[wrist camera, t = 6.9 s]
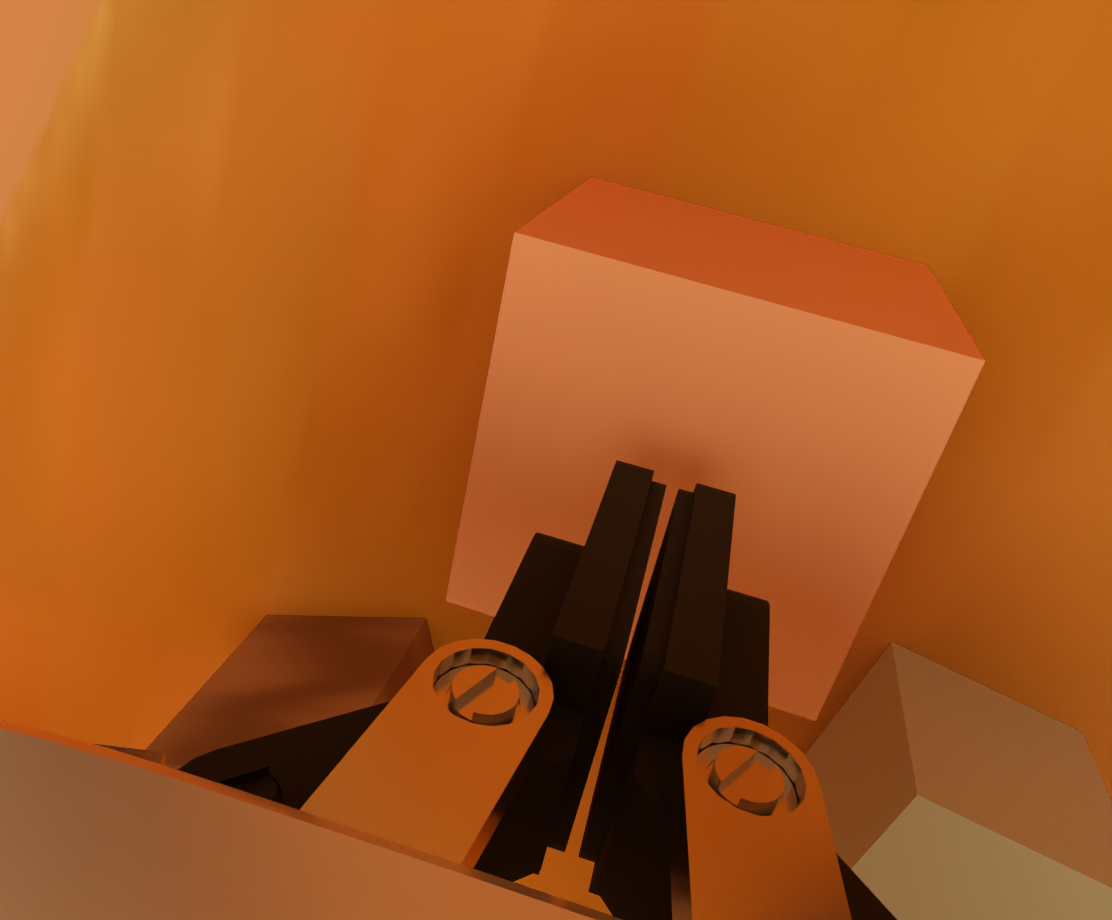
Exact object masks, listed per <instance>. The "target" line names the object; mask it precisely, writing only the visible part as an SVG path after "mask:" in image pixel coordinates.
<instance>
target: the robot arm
mask: <svg viewBox="0 0 1112 920" xmlns="http://www.w3.org/2000/svg"><path fill="white" fill-rule="evenodd" d="M653 474H654V471H653V470H650V469H646V468H643V467H639V466H636V465H632V464H629V463H626V462H622V461H619V460H616V463H615V465H614V468H613V471H612V474H611V476H610V479H609V482H608V484H607V487H606V490H605V492H604V495H603V498H602V500H601V503H600V506H599V508H598V511H597V514H596V517H595V519H594V522H593V525H592V527H591V530H590V533H589V535H588V538H587V541H586V543H585V546H582V545H579V544H576V543H572V542H569V541H565V540H562V539H559V538H555V537H552V536H549V535H545V534H542V533H539V532H537V533H535V535H534V537H533V538H532V540H531V542H530V544H529V547H528V549H527V551H526V553H525V555H524V557H523V559H522V561H521V563H520V565H519V567H518V570H517V572H516V574H515V576H514V578H513V580H512V582H511V584H510V586H509V588H508V591H507V593H506V595H505V597H504V599H503V601H502V603H501V605H500V607H499V609H498V611H497V614H496V616H495V618H494V620H493V622H492V624H491V626H490V628H489V630H488V632H487V634H486V637H485V639H467V640H460V641H455V642H452V643H450V644H447V645H445V646H442V647H440V648H438V649H437V650H436V651H435V652H433V653H432V654H431V655H430V656H429V657H427V658H426V659H425V661H424V662H423V663H422V664H421V665H420V667H419V668H418V669H417V670H416V671H415V673H414V674H413V675H412V676H411V677H410V678H409V680H408V681H407V682H406V683H405V684H404V686H403V687H402V688H401V689H400V690H399V692H398V693H397V694H396V695H395V696H394V698H393V699H392V700H391V701H388V702H385V703H381V704H378V705H374V706H370V707H367V708H363V709H360V710H356V711H352V712H349V713H345V714H342V715H338V716H334V717H331V718H327V719H324V720H320V721H316V722H313V723H309V724H306V725H302V726H298V727H295V728H291V729H288V730H284V731H281V732H277V733H273V734H270V735H266V736H263V737H259V738H255V739H252V740H248V741H245V742H241V743H237V744H234V745H230V746H227V747H223V748H219V749H216V750H213V751H211V752H209V753H206V754H204V755H201V756H199V757H196V758H194V759H192V760H191V761H189V762H188V763H187V764H185V765H184V766H178V765H169V764H165V752H158V751H150V750H142V749H134V748H126V747H118V746H110V745H101V744H93V743H89V742H85V741H82V740H78V739H75V738H71V737H68V736H64V735H61V734H57V733H54V732H50V731H47V730H43V729H40V728H36V727H32V726H27V725H22V724H17V723H12V722H7V721H2V720H0V920H897V919H896V918H895V917H894V916H893V915H892V913H891V912H890V911H889V910H888V909H887V908H886V907H885V906H884V905H883V904H882V902H881V901H880V900H879V899H878V898H877V897H876V896H875V895H874V894H873V893H872V891H871V890H870V889H869V888H868V887H867V886H866V885H865V884H864V883H863V882H862V881H861V879H860V878H859V877H858V876H857V875H856V874H855V873H854V872H853V871H852V870H851V868H850V867H849V866H848V865H847V864H846V863H845V862H844V861H843V860H842V859H841V858H840V856H839V855H838V854H837V853H836V850H835V846H834V842H833V837H832V833H831V829H830V824H829V820H828V816H827V812H826V807H825V803H824V799H823V794H822V790H821V786H820V782H819V780H818V777H817V775H816V773H815V770H814V768H813V766H812V764H811V763H810V762H809V760H808V759H807V758H806V756H805V755H804V754H803V753H802V751H801V750H800V749H799V748H798V747H797V746H795V745H794V744H793V743H792V742H791V741H790V740H788V739H787V738H786V737H785V736H784V735H782V734H780V733H778V732H777V731H775V730H773V729H771V728H769V727H768V690H769V637H770V604H769V602H768V601H767V600H763V599H760V598H757V597H753V596H750V595H747V594H743V593H740V592H737V591H733V590H730V589H727V585H728V575H729V564H730V554H731V543H732V533H733V522H734V511H735V501H736V494H734V493H730V492H727V491H723V490H720V489H716V488H713V487H709V486H706V485H702V484H699V483H697V484H696V486H695V488H694V491H693V492H689V491H686V490H682V489H679V490H678V492H677V495H676V498H675V502H674V505H673V508H672V511H671V514H670V518H669V521H668V524H667V527H666V531H665V534H664V537H663V540H662V544H661V547H660V550H659V553H658V556H657V560H656V563H655V566H654V569H653V573H652V576H651V579H650V582H649V586H648V589H647V592H646V595H645V598H644V602H643V605H642V608H641V611H640V615H639V618H638V621H637V624H636V627H635V631H634V634H633V637H632V641H631V644H630V647H629V651H628V654H627V658H626V662H625V666H624V670H623V674H622V678H621V683H620V687H619V691H618V695H617V699H616V703H615V707H614V711H613V716H612V720H611V724H610V728H609V732H608V736H607V740H606V745H605V749H604V753H603V757H602V761H601V765H600V769H599V774H598V778H597V782H596V786H595V790H594V794H593V798H592V802H591V807H590V811H589V815H588V819H587V823H586V827H585V831H584V836H583V840H582V844H581V848H580V852H579V857H581V858H584V859H587V860H590V861H593V862H595V865H594V870H593V874H592V879H591V883H590V888H589V892H591V893H593V894H596V895H599V896H600V897H601V898H602V900H603V901H604V903H605V904H606V906H607V907H608V909H609V910H610V912H611V913H612V915H613V916H611V915H608V914H605V913H602V912H599V911H596V910H593V909H590V908H587V907H584V906H582V905H579V904H576V903H573V902H570V901H567V900H564V899H561V898H558V897H555V896H552V895H549V894H546V893H543V892H541V891H538V890H535V889H532V888H529V887H526V886H523V885H520V884H517V883H514V881H516V880H519V879H521V878H523V877H526V876H528V875H530V874H532V873H535V874H538V875H539V871H540V870H541V866H542V863H543V859H544V856H545V852H546V849H547V846H548V847H551V848H554V849H557V850H560V851H563V852H565V849H566V846H567V843H568V839H569V836H570V833H571V830H572V827H573V823H574V820H575V817H576V814H577V810H578V807H579V804H580V801H581V797H582V794H583V791H584V788H585V784H586V781H587V778H588V775H589V771H590V768H591V765H592V762H593V758H594V755H595V752H596V749H597V746H598V742H599V739H600V736H601V733H602V729H603V726H604V723H605V720H606V716H607V713H608V710H609V707H610V703H611V700H612V697H613V694H614V690H615V687H616V684H617V681H618V677H619V674H620V670H621V667H622V663H623V660H624V656H625V653H626V649H627V645H628V641H629V637H630V633H631V629H632V625H633V621H634V617H635V613H636V609H637V605H638V600H639V596H640V592H641V588H642V584H643V580H644V576H645V572H646V568H647V564H648V560H649V556H650V551H651V547H652V543H653V539H654V535H655V531H656V527H657V523H658V519H659V515H660V511H661V507H662V502H663V498H664V494H665V490H666V486H667V485H665V484H661V483H658V482H654V481H652V478H653Z"/></svg>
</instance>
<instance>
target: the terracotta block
mask: <svg viewBox="0 0 1112 920" xmlns="http://www.w3.org/2000/svg"><path fill="white" fill-rule="evenodd" d="M984 363H985V359H984V358H983V356H982V354H981V353H980V351H979V349H978V348H977V346H976V344H975V343H974V341H973V339H972V338H971V336H970V334H969V333H968V331H967V329H966V328H965V326H964V325H963V323H962V321H961V320H960V318H959V316H958V315H957V313H956V311H955V310H954V308H953V306H952V305H951V303H950V301H949V300H948V298H947V296H946V295H945V293H944V291H943V290H942V288H941V286H940V285H939V283H938V281H937V280H936V278H935V276H934V275H933V273H932V271H931V270H930V268H929V266H928V265H924V264H920V263H917V262H913V261H909V260H905V259H901V258H898V257H894V256H890V255H886V254H882V253H879V252H875V251H871V250H867V249H863V248H860V247H856V246H852V245H848V244H844V243H841V242H837V241H833V240H829V239H825V238H822V237H818V236H814V235H810V234H806V233H803V232H799V231H795V230H791V229H787V228H783V227H780V226H776V225H772V224H768V223H764V222H761V221H757V220H753V219H749V218H745V217H742V216H738V215H734V214H730V213H726V212H723V211H719V210H715V209H711V208H707V207H704V206H700V205H696V204H692V203H688V202H685V201H681V200H677V199H673V198H669V197H666V196H662V195H658V194H654V193H650V192H647V191H643V190H639V189H635V188H631V187H628V186H624V185H620V184H616V183H612V182H609V181H605V180H601V179H597V178H593V177H590V178H589V179H588V180H586V181H585V182H583V183H582V184H581V185H579V186H578V187H577V188H575V189H574V190H572V191H571V192H570V193H568V194H567V195H565V196H564V197H563V198H561V199H560V200H558V201H557V202H556V203H554V204H553V205H551V206H550V207H549V208H547V209H546V210H544V211H543V212H542V213H540V214H539V215H538V216H536V217H535V218H533V219H532V220H531V221H529V222H528V223H526V224H525V225H524V226H522V227H521V228H519V229H518V230H517V231H515V232H514V236H513V242H512V247H511V252H510V258H509V263H508V269H507V274H506V279H505V285H504V290H503V295H502V301H501V306H500V311H499V317H498V322H497V327H496V333H495V338H494V343H493V349H492V354H491V359H490V365H489V370H488V375H487V381H486V386H485V392H484V397H483V402H482V408H481V413H480V418H479V424H478V429H477V434H476V440H475V445H474V450H473V456H472V461H471V466H470V472H469V477H468V482H467V488H466V493H465V498H464V504H463V509H462V515H461V520H460V525H459V531H458V536H457V541H456V547H455V552H454V557H453V563H452V568H451V573H450V579H449V584H448V589H447V595H446V600H445V601H447V602H450V603H453V604H456V605H459V606H462V607H465V608H468V609H471V610H475V611H478V612H481V613H484V614H487V615H490V616H493V617H495V616H496V614H497V611H498V609H499V607H500V605H501V603H502V601H503V599H504V597H505V595H506V593H507V591H508V588H509V586H510V584H511V582H512V580H513V578H514V576H515V574H516V572H517V570H518V567H519V565H520V563H521V561H522V559H523V557H524V555H525V553H526V551H527V549H528V547H529V544H530V542H531V540H532V538H533V537H534V535H535V533H537V532H539V533H542V534H545V535H549V536H552V537H555V538H559V539H562V540H565V541H569V542H572V543H576V544H579V545H582V546H585V543H586V541H587V538H588V535H589V533H590V530H591V527H592V525H593V522H594V519H595V517H596V514H597V511H598V508H599V506H600V503H601V500H602V498H603V495H604V492H605V490H606V487H607V484H608V482H609V479H610V476H611V474H612V471H613V468H614V465H615V463H616V460H619V461H622V462H626V463H629V464H632V465H636V466H639V467H643V468H646V469H650V470H653V471H654V474H653V478H652V481H654V482H658V483H661V484H665V485H667V486H666V490H665V494H664V498H663V502H662V507H661V511H660V515H659V519H658V523H657V527H656V531H655V535H654V539H653V543H652V547H651V551H650V556H649V560H648V564H647V568H646V572H645V576H644V580H643V584H642V588H641V592H640V596H639V600H638V605H637V609H636V613H635V617H634V621H633V625H632V629H631V633H630V637H629V641H628V645H627V649H626V653H625V656H624V659H625V660H626V658H627V654H628V651H629V647H630V644H631V641H632V637H633V634H634V631H635V627H636V624H637V621H638V618H639V615H640V611H641V608H642V605H643V602H644V598H645V595H646V592H647V589H648V586H649V582H650V579H651V576H652V573H653V569H654V566H655V563H656V560H657V556H658V553H659V550H660V547H661V544H662V540H663V537H664V534H665V531H666V527H667V524H668V521H669V518H670V514H671V511H672V508H673V505H674V502H675V498H676V495H677V492H678V490H679V489H682V490H686V491H689V492H693V491H694V488H695V486H696V484H697V483H699V484H702V485H706V486H709V487H713V488H716V489H720V490H723V491H727V492H730V493H734V494H736V501H735V511H734V522H733V533H732V543H731V554H730V564H729V575H728V585H727V589H730V590H733V591H737V592H740V593H743V594H747V595H750V596H753V597H757V598H760V599H763V600H767V601H768V602H769V604H770V637H769V690H768V706H770V707H773V708H776V709H779V710H782V711H785V712H788V713H791V714H794V715H797V716H800V717H803V718H806V719H809V720H813V721H816V720H817V717H818V715H819V713H820V711H821V709H822V707H823V705H824V703H825V700H826V698H827V696H828V694H829V692H830V690H831V688H832V686H833V683H834V681H835V679H836V677H837V675H838V673H839V671H840V669H841V666H842V664H843V662H844V660H845V658H846V656H847V654H848V652H849V649H850V647H851V645H852V643H853V641H854V639H855V637H856V635H857V632H858V630H859V628H860V626H861V624H862V622H863V620H864V618H865V616H866V613H867V611H868V609H869V607H870V605H871V603H872V601H873V599H874V596H875V594H876V592H877V590H878V588H879V586H880V584H881V582H882V579H883V577H884V575H885V573H886V571H887V569H888V567H889V565H890V562H891V560H892V558H893V556H894V554H895V552H896V550H897V548H898V545H899V543H900V541H901V539H902V537H903V535H904V533H905V531H906V528H907V526H908V524H909V522H910V520H911V518H912V516H913V514H914V511H915V509H916V507H917V505H918V503H919V501H920V499H921V497H922V494H923V492H924V490H925V488H926V486H927V484H928V482H929V480H930V478H931V475H932V473H933V471H934V469H935V467H936V465H937V463H938V461H939V458H940V456H941V454H942V452H943V450H944V448H945V446H946V444H947V441H948V439H949V437H950V435H951V433H952V431H953V429H954V427H955V424H956V422H957V420H958V418H959V416H960V414H961V412H962V410H963V407H964V405H965V403H966V401H967V399H968V397H969V395H970V393H971V390H972V388H973V386H974V384H975V382H976V380H977V378H978V376H979V373H980V371H981V369H982V367H983V365H984Z"/></svg>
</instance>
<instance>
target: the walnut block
mask: <svg viewBox="0 0 1112 920" xmlns="http://www.w3.org/2000/svg"><path fill="white" fill-rule="evenodd" d="M433 652H434V649H433V645H432V641H431V636H430V632H429V628H428V623H427V619H426V618H388V617H340V616H292V615H266V617H265V618H264V619H263V620H262V621H261V622H260V623H259V624H258V625H257V627H256V628H255V629H254V630H253V631H252V632H251V633H250V634H249V635H248V637H247V638H246V639H245V640H244V641H243V642H242V643H241V644H240V645H239V647H238V648H237V649H236V650H235V651H234V652H233V653H232V654H231V655H230V657H229V658H228V659H227V660H226V661H225V662H224V663H223V664H222V665H221V667H220V668H219V669H218V670H217V671H216V672H215V673H214V674H213V675H212V676H211V678H210V679H209V680H208V681H207V682H206V683H205V684H204V685H203V686H202V688H201V689H200V690H199V691H198V692H197V693H196V694H195V695H194V696H193V698H192V699H191V700H190V701H189V702H188V703H187V704H186V705H185V706H184V708H183V709H182V710H181V711H180V712H179V713H178V714H177V715H176V716H175V718H174V719H173V720H172V721H171V722H170V723H169V724H168V725H167V726H166V728H165V729H164V730H163V731H162V732H161V733H160V734H159V735H158V736H157V738H156V739H155V740H154V741H153V742H152V743H151V744H150V745H149V746H148V748H147V749H146V750H150V751H158V752H165V764H169V765H178V766H184V765H185V764H187V763H188V762H189V761H191V760H192V759H194V758H196V757H199V756H201V755H204V754H206V753H209V752H211V751H213V750H216V749H219V748H223V747H227V746H230V745H234V744H237V743H241V742H245V741H248V740H252V739H255V738H259V737H263V736H266V735H270V734H273V733H277V732H281V731H284V730H288V729H291V728H295V727H298V726H302V725H306V724H309V723H313V722H316V721H320V720H324V719H327V718H331V717H334V716H338V715H342V714H345V713H349V712H352V711H356V710H360V709H363V708H367V707H370V706H374V705H378V704H381V703H385V702H388V701H391V700H392V699H393V698H394V696H395V695H396V694H397V693H398V692H399V690H400V689H401V688H402V687H403V686H404V684H405V683H406V682H407V681H408V680H409V678H410V677H411V676H412V675H413V674H414V673H415V671H416V670H417V669H418V668H419V667H420V665H421V664H422V663H423V662H424V661H425V659H426V658H427V657H429V656H430V655H431V654H432V653H433Z"/></svg>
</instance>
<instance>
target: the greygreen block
mask: <svg viewBox="0 0 1112 920" xmlns="http://www.w3.org/2000/svg"><path fill="white" fill-rule="evenodd" d="M805 756H806V758H807V759H808V760H809V762H810V763H811V764H812V766H813V768H814V770H815V773H816V775H817V777H818V780H819V782H820V786H821V790H822V794H823V799H824V803H825V807H826V812H827V816H828V820H829V824H830V829H831V833H832V837H833V842H834V846H835V850H836V853H837V854H838V855H839V856H840V858H841V859H842V860H843V861H844V862H845V863H846V864H847V865H848V866H849V867H850V868H851V870H852V871H853V872H854V873H855V874H856V875H857V876H858V877H859V878H860V879H861V881H862V882H863V883H864V884H865V885H866V886H867V887H868V888H869V889H870V890H871V891H872V893H873V894H874V895H875V896H876V897H877V898H878V899H879V900H880V901H881V902H882V904H883V905H884V906H885V907H886V908H887V909H888V910H889V911H890V912H891V913H892V915H893V916H894V917H895V918H896V919H897V920H1112V800H1111V798H1110V795H1109V793H1108V791H1107V788H1106V786H1105V784H1104V781H1103V779H1102V776H1101V774H1100V772H1099V769H1098V767H1097V765H1096V762H1095V760H1094V757H1093V755H1092V753H1091V750H1090V748H1089V746H1088V743H1087V741H1086V738H1085V736H1084V734H1083V732H1081V731H1079V730H1077V729H1075V728H1073V727H1070V726H1068V725H1066V724H1064V723H1062V722H1060V721H1058V720H1056V719H1054V718H1051V717H1049V716H1047V715H1045V714H1043V713H1041V712H1039V711H1037V710H1035V709H1032V708H1030V707H1028V706H1026V705H1024V704H1022V703H1020V702H1018V701H1016V700H1013V699H1011V698H1009V697H1007V696H1005V695H1003V694H1001V693H999V692H997V691H994V690H992V689H990V688H988V687H986V686H984V685H982V684H980V683H977V682H975V681H973V680H971V679H969V678H967V677H965V676H963V675H961V674H958V673H956V672H954V671H952V670H950V669H948V668H946V667H944V666H942V665H939V664H937V663H935V662H933V661H931V660H929V659H927V658H925V657H923V656H920V655H918V654H916V653H914V652H912V651H910V650H908V649H906V648H904V647H901V646H899V645H897V644H895V643H893V642H891V643H890V645H889V646H888V647H887V648H886V650H885V651H884V652H883V654H882V655H881V656H880V658H879V659H878V660H877V661H876V663H875V664H874V665H873V667H872V668H871V669H870V670H869V672H868V673H867V674H866V676H865V677H864V678H863V680H862V681H861V682H860V683H859V685H858V686H857V687H856V689H855V690H854V691H853V693H852V694H851V695H850V696H849V698H848V699H847V700H846V702H845V703H844V704H843V706H842V707H841V708H840V709H839V711H838V712H837V713H836V715H835V716H834V717H833V718H832V720H831V721H830V722H829V724H828V725H827V726H826V728H825V729H824V730H823V731H822V733H821V734H820V735H819V737H818V738H817V739H816V741H815V742H814V743H813V744H812V746H811V747H810V748H809V750H808V751H807V752H806V754H805Z"/></svg>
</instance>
